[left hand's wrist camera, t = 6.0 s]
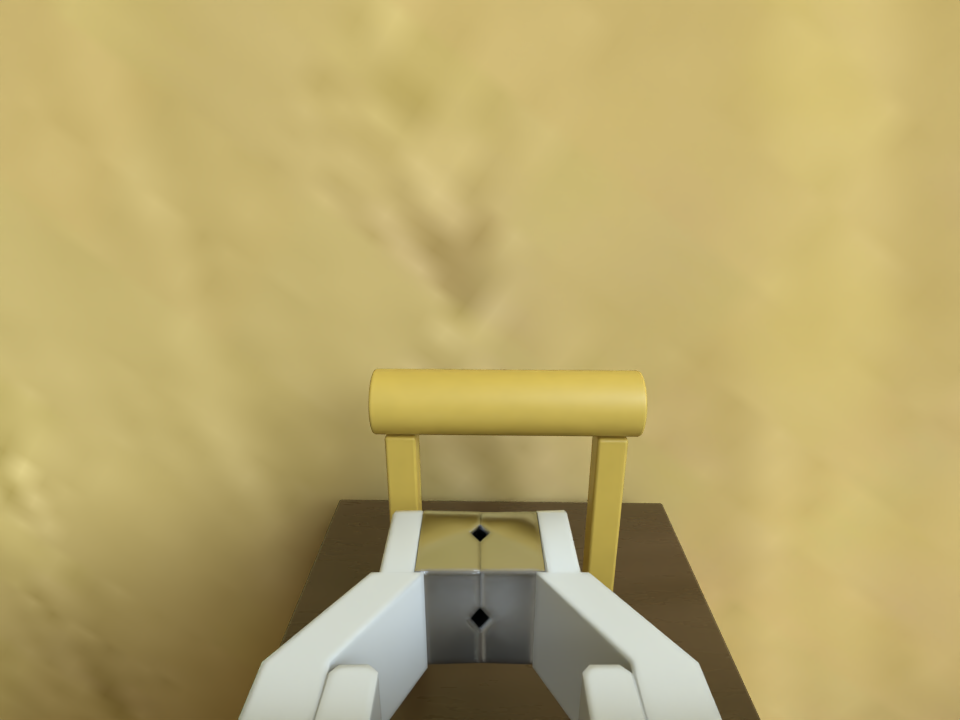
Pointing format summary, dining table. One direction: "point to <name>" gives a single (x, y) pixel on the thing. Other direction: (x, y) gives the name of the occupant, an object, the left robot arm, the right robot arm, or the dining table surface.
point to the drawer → (594, 525)
